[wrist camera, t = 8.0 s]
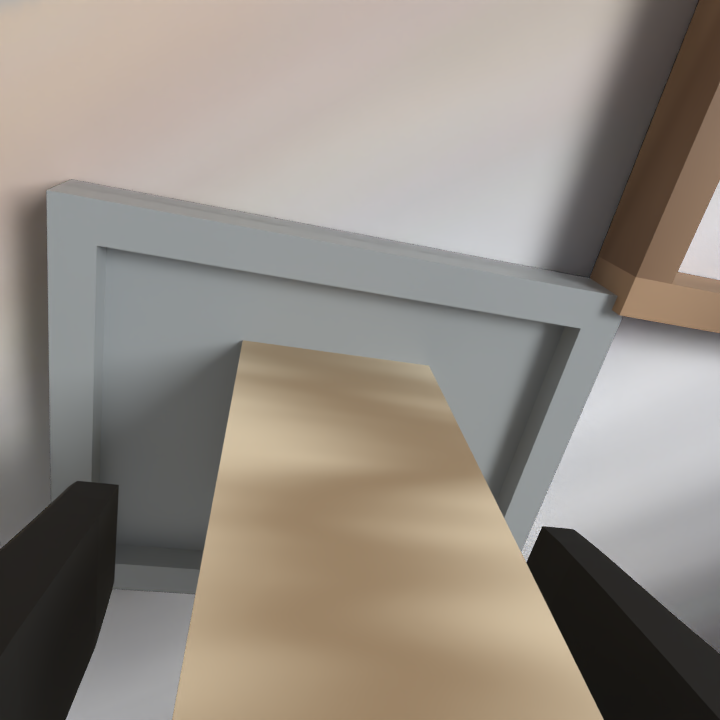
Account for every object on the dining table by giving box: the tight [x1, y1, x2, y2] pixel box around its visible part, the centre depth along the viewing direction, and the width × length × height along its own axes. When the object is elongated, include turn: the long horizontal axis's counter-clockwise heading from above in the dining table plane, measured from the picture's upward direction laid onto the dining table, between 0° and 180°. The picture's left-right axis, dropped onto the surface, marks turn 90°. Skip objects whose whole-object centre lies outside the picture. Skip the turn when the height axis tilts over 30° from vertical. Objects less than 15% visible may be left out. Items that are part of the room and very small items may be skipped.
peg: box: [172, 340, 604, 720], centre depth 9 cm, size 4×4×8 cm
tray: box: [46, 179, 623, 594], centre depth 13 cm, size 11×9×1 cm
